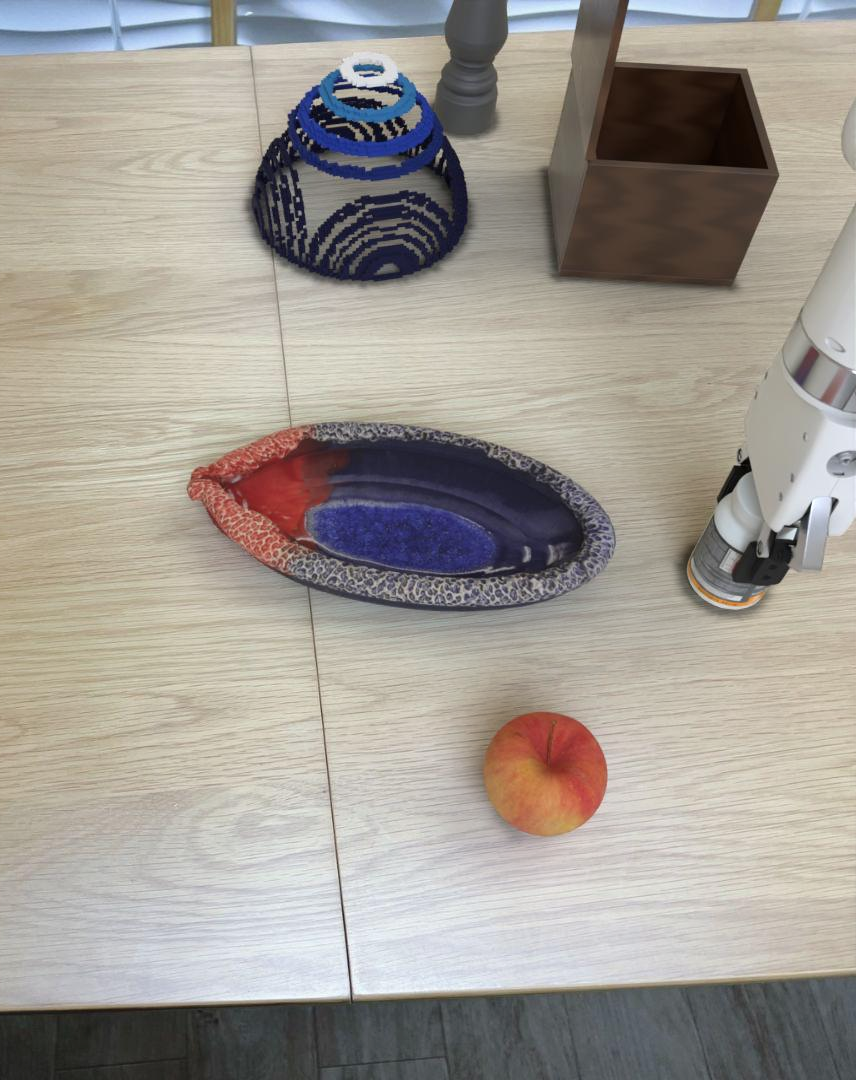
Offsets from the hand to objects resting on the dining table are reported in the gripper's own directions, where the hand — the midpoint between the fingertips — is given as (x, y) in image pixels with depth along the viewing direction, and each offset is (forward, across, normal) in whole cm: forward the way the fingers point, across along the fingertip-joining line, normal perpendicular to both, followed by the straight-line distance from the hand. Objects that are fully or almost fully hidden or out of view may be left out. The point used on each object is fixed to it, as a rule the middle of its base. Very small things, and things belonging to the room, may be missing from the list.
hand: (746, 540), depth 76 cm
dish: (+5, +2, +24) cm, 25 cm away
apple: (+5, -18, +15) cm, 24 cm away
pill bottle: (+5, 0, 0) cm, 5 cm away
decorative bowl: (+5, +40, +28) cm, 49 cm away
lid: (-16, +40, +10) cm, 44 cm away
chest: (+5, +40, +2) cm, 40 cm away
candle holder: (+5, +56, +18) cm, 59 cm away
